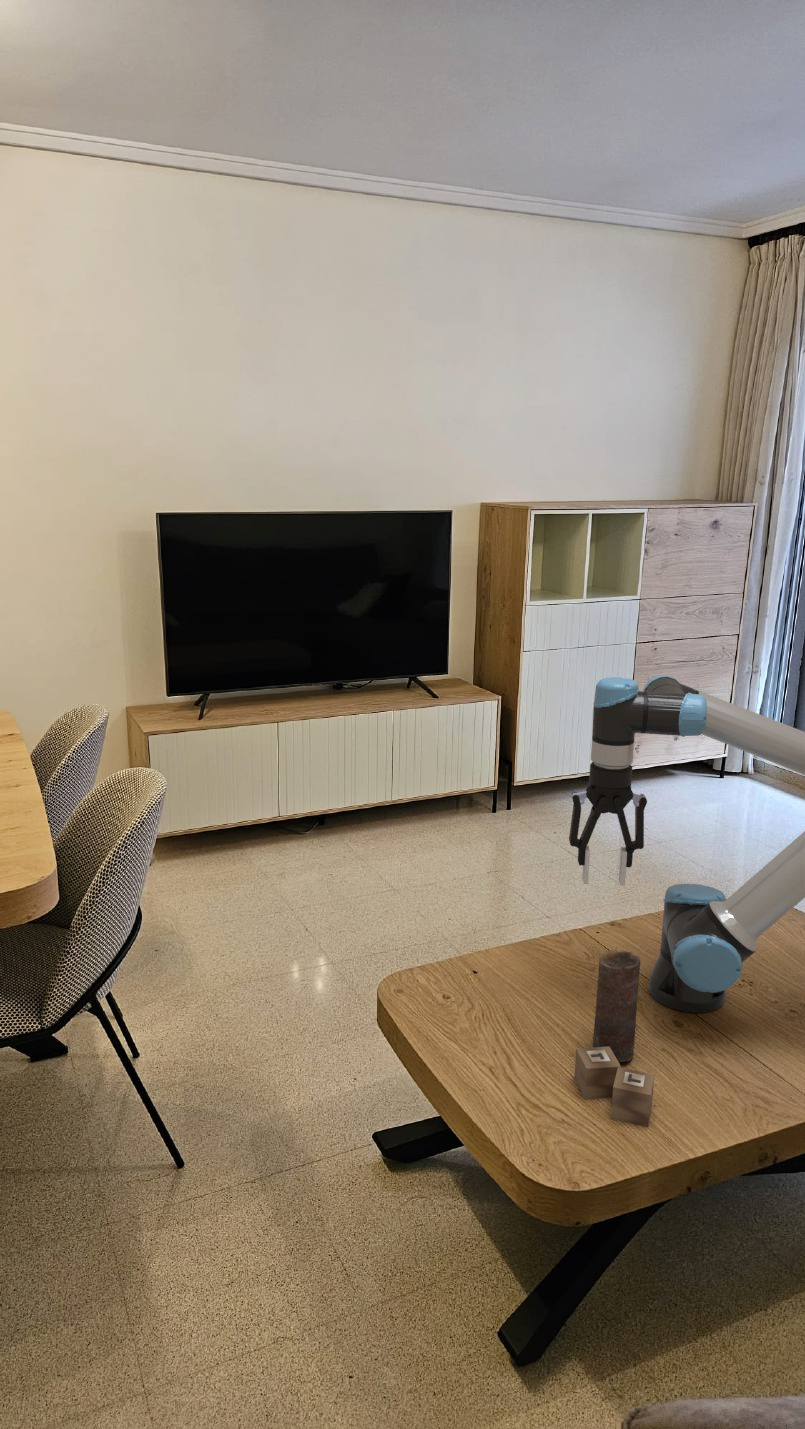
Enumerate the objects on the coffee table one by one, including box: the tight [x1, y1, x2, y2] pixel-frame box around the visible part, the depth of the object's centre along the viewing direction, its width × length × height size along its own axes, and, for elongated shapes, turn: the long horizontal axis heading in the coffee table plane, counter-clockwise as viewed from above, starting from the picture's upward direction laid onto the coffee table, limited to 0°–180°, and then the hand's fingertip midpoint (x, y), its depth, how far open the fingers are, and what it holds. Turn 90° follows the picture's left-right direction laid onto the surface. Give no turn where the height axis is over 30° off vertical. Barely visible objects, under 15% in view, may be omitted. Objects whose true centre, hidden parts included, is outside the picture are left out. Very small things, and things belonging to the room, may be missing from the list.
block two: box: [573, 1046, 622, 1101], centre depth 169 cm, size 6×6×6 cm
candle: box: [592, 949, 641, 1063], centre depth 177 cm, size 8×7×20 cm
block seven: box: [610, 1066, 655, 1128], centre depth 163 cm, size 6×6×6 cm
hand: (603, 881), depth 184 cm, fingers open, 6 cm apart
